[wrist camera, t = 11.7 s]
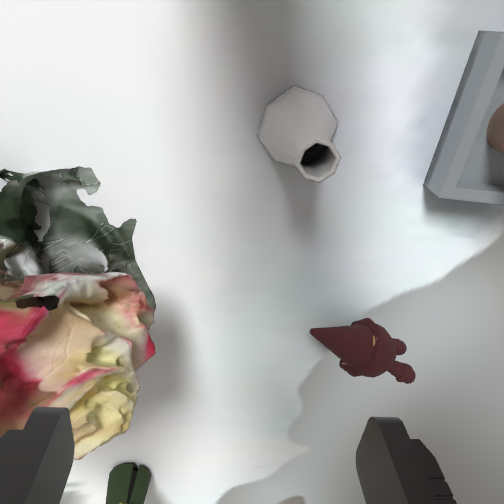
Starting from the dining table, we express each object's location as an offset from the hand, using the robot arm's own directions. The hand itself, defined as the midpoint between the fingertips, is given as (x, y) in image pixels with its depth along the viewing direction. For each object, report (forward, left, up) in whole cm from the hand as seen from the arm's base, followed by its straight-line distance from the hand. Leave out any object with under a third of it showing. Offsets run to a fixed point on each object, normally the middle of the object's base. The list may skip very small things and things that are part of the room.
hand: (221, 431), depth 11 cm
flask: (-1, +7, -32) cm, 32 cm away
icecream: (+22, +19, -32) cm, 43 cm away
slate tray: (-4, +27, -31) cm, 41 cm away
